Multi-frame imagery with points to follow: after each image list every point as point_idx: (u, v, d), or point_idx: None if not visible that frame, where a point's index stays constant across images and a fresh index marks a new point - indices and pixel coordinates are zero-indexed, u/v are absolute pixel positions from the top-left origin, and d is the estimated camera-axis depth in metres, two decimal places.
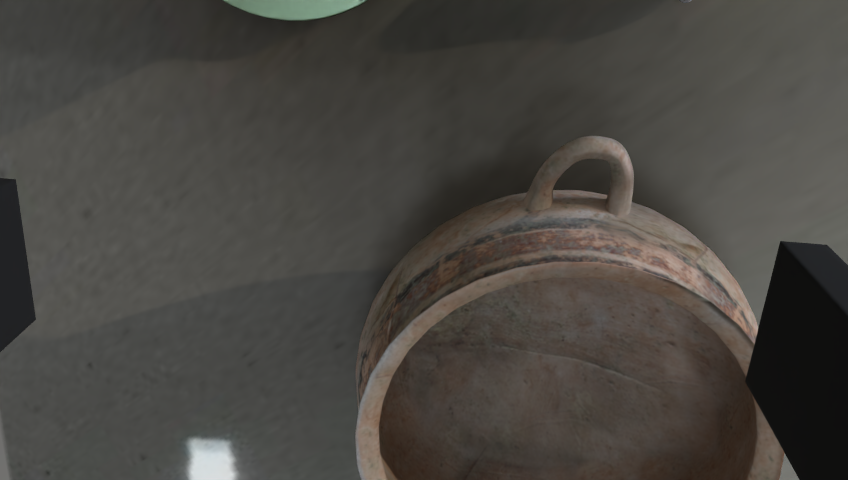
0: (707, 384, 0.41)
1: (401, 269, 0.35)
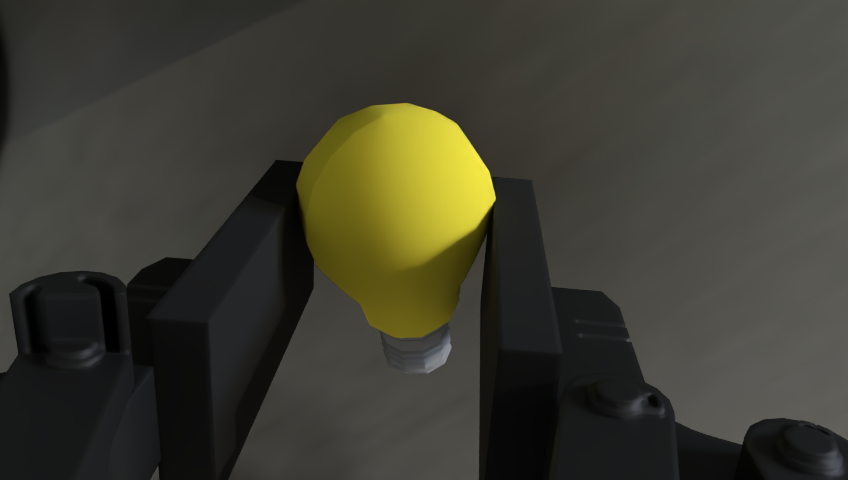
0: None
1: None
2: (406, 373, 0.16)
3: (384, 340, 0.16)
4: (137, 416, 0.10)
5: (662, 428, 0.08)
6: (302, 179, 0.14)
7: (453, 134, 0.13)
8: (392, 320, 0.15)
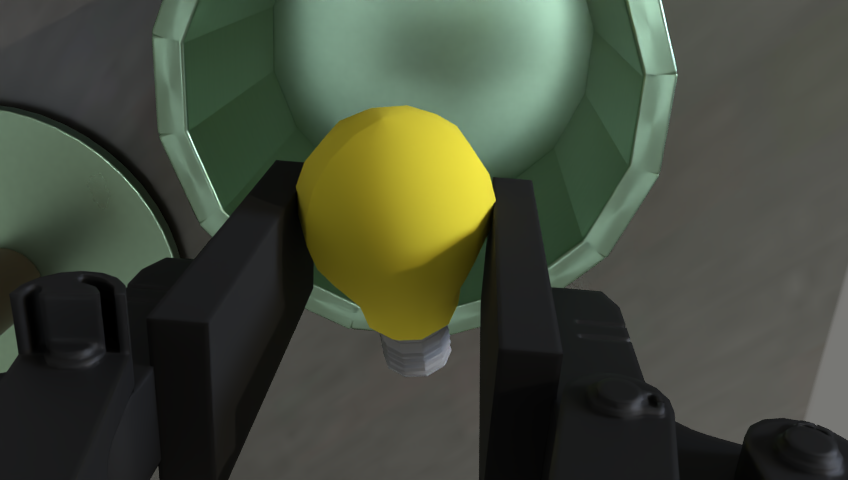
0: None
1: None
2: (406, 375, 0.16)
3: (384, 342, 0.16)
4: (137, 417, 0.10)
5: (662, 428, 0.08)
6: (301, 182, 0.14)
7: (453, 137, 0.13)
8: (392, 323, 0.15)
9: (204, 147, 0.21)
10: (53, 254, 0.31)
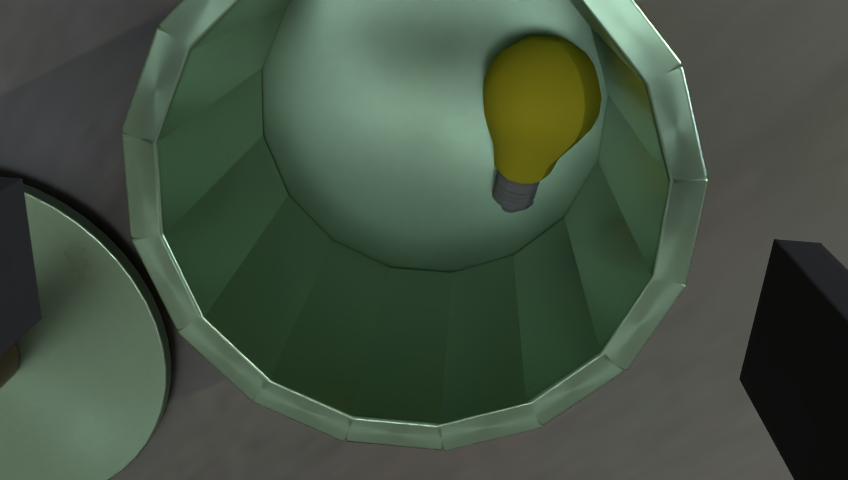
0: None
1: None
2: (533, 202, 0.26)
3: (527, 194, 0.25)
4: None
5: None
6: (559, 100, 0.22)
7: None
8: (557, 159, 0.25)
9: (183, 248, 0.19)
10: None
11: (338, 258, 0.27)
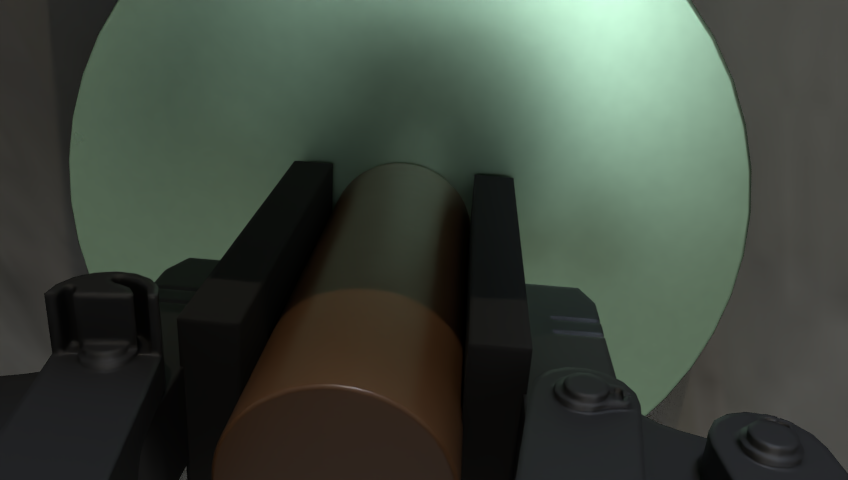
0: None
1: None
2: None
3: None
4: (168, 417, 0.10)
5: (628, 421, 0.08)
6: None
7: None
8: None
9: None
10: (400, 114, 0.15)
11: None
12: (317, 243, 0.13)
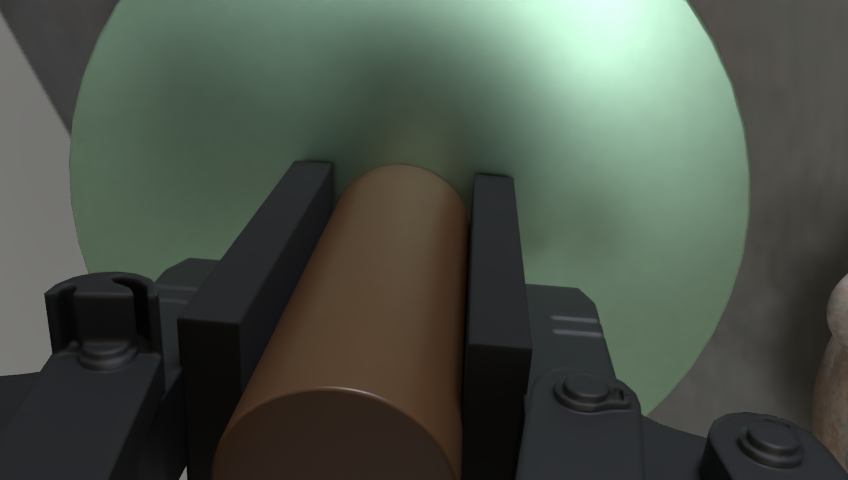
0: None
1: None
2: None
3: None
4: (167, 417, 0.10)
5: (628, 422, 0.08)
6: None
7: None
8: None
9: None
10: (400, 116, 0.15)
11: None
12: (317, 244, 0.13)
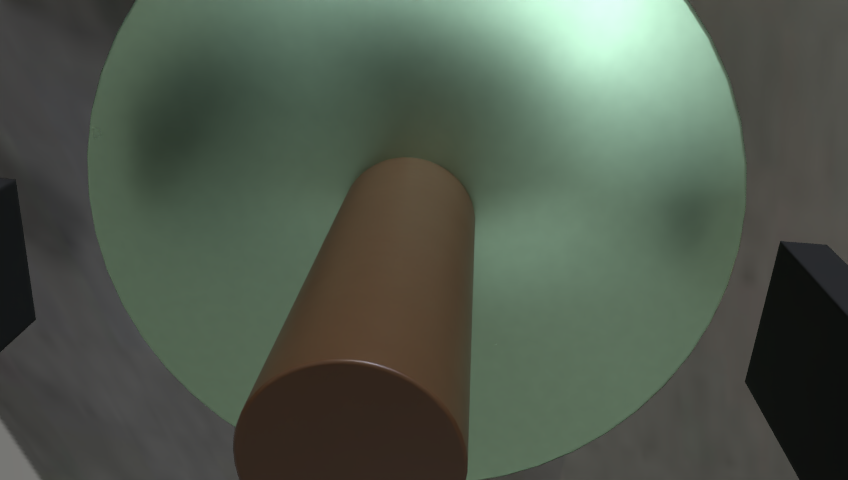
0: None
1: None
2: None
3: None
4: None
5: None
6: None
7: None
8: None
9: None
10: (407, 110, 0.16)
11: None
12: (328, 233, 0.14)
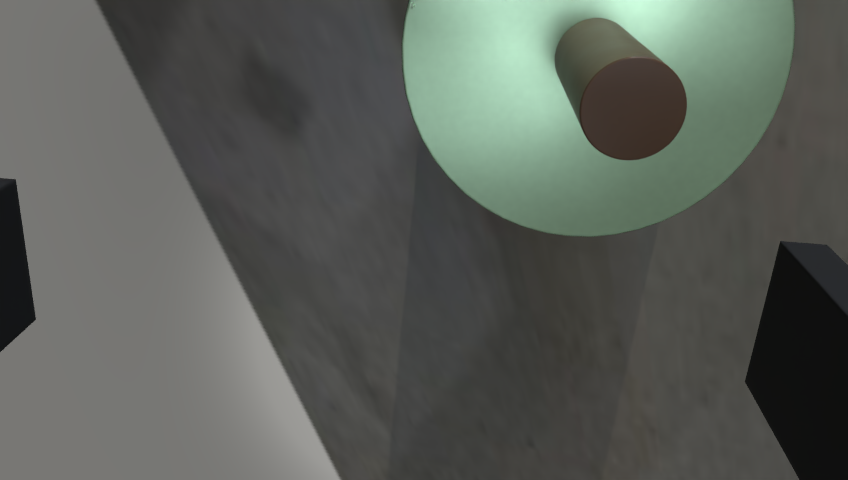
0: None
1: None
2: None
3: None
4: None
5: None
6: None
7: None
8: None
9: None
10: None
11: None
12: (571, 47, 0.26)
